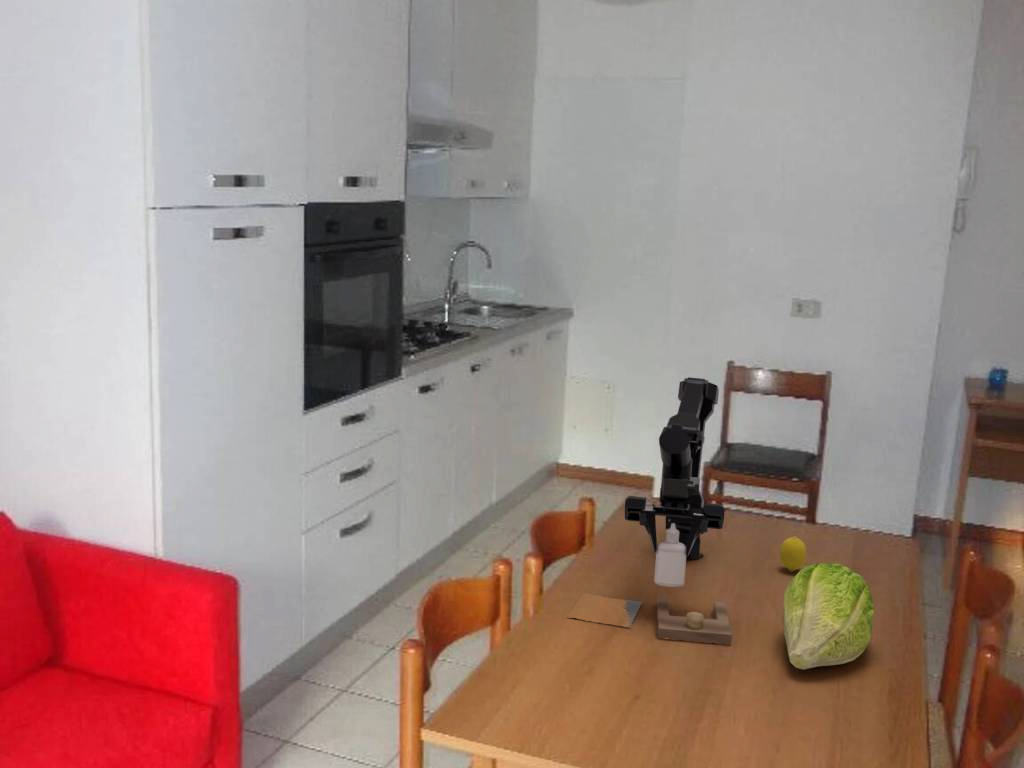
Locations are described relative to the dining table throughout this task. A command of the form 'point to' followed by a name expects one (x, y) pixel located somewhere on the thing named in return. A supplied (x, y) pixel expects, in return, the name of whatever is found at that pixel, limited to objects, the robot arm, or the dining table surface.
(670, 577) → the eye dropper bottle
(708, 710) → the dining table surface
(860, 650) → the lettuce
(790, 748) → the dining table surface
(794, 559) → the lemon
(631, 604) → the slate mat
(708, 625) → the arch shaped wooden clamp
